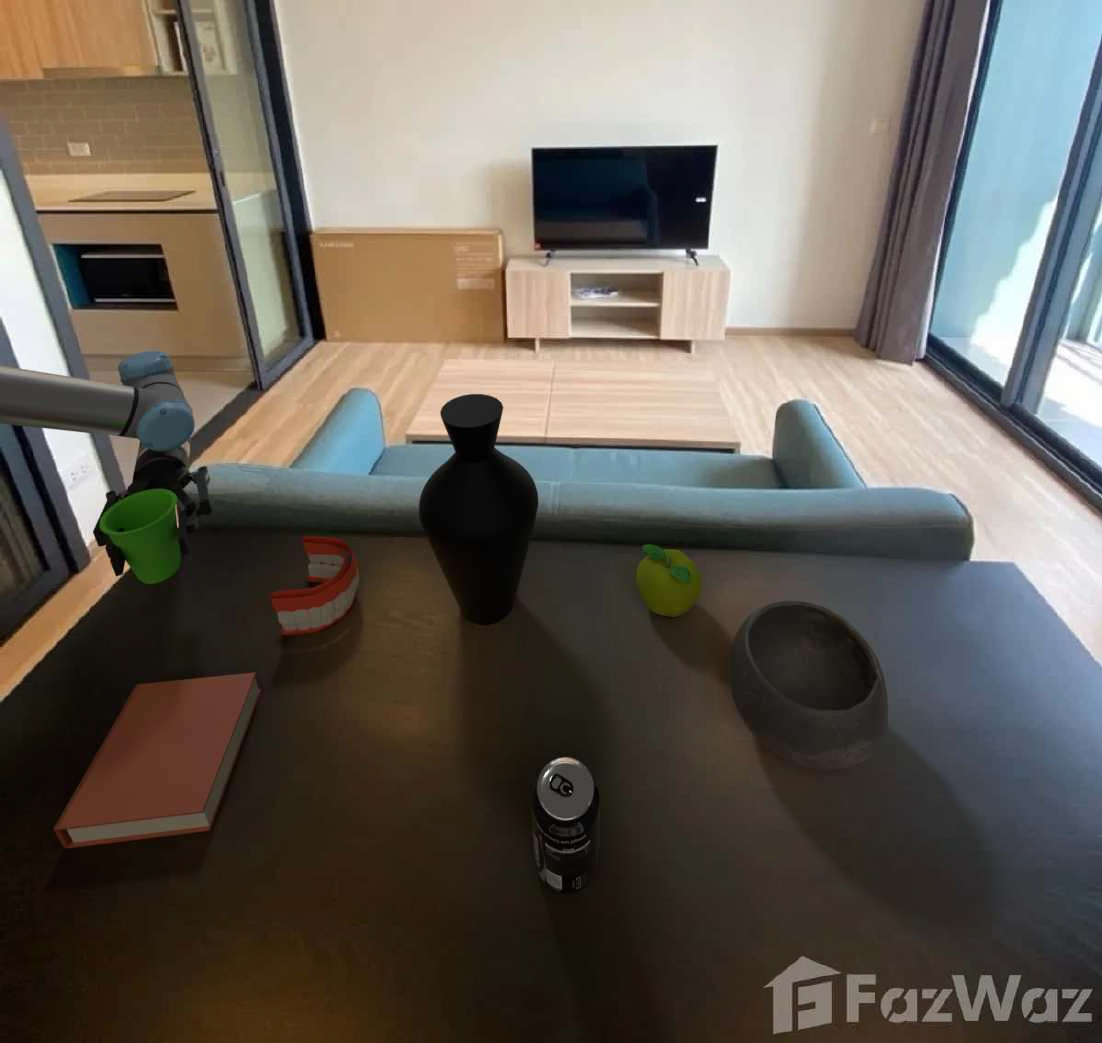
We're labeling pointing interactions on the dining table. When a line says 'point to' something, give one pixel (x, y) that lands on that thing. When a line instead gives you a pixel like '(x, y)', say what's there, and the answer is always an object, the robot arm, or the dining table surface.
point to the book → (162, 762)
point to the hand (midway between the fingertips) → (150, 556)
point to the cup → (146, 533)
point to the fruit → (667, 581)
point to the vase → (479, 511)
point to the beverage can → (566, 825)
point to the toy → (319, 588)
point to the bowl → (808, 685)
